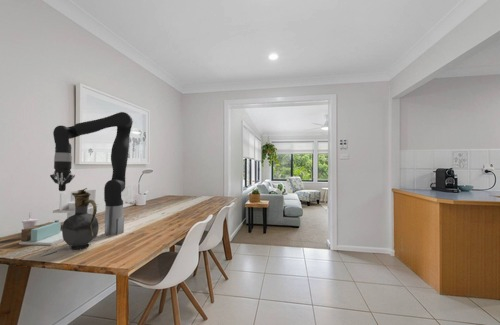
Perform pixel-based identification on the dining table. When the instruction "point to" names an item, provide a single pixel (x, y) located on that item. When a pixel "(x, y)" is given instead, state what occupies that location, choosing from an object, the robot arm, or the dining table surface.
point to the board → (45, 240)
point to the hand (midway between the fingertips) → (62, 191)
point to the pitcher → (81, 223)
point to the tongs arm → (45, 231)
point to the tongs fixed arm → (27, 232)
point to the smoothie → (29, 222)
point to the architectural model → (73, 203)
